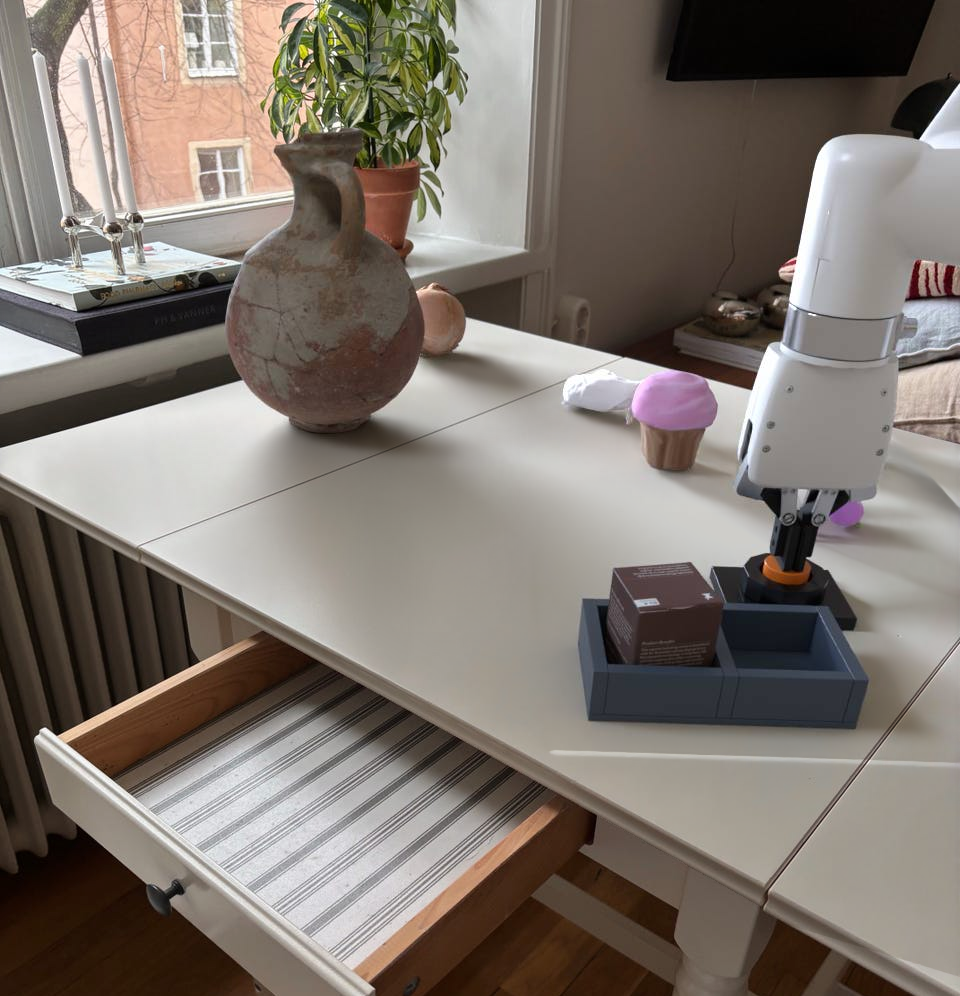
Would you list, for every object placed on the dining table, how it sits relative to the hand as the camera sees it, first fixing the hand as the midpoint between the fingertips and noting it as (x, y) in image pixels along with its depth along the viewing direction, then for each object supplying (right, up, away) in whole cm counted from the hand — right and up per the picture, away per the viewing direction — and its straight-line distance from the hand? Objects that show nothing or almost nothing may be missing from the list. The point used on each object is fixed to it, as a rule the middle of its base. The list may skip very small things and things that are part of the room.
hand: (787, 563), depth 79 cm
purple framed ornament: (+9, +4, +15) cm, 18 cm away
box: (-12, -9, -8) cm, 17 cm away
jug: (-42, +19, +35) cm, 57 cm away
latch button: (0, -2, +1) cm, 2 cm away
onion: (-31, +33, +57) cm, 73 cm away
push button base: (0, -3, +2) cm, 4 cm away
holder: (-8, -9, -8) cm, 15 cm away
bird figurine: (-11, +21, +39) cm, 46 cm away
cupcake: (-5, +12, +27) cm, 30 cm away
